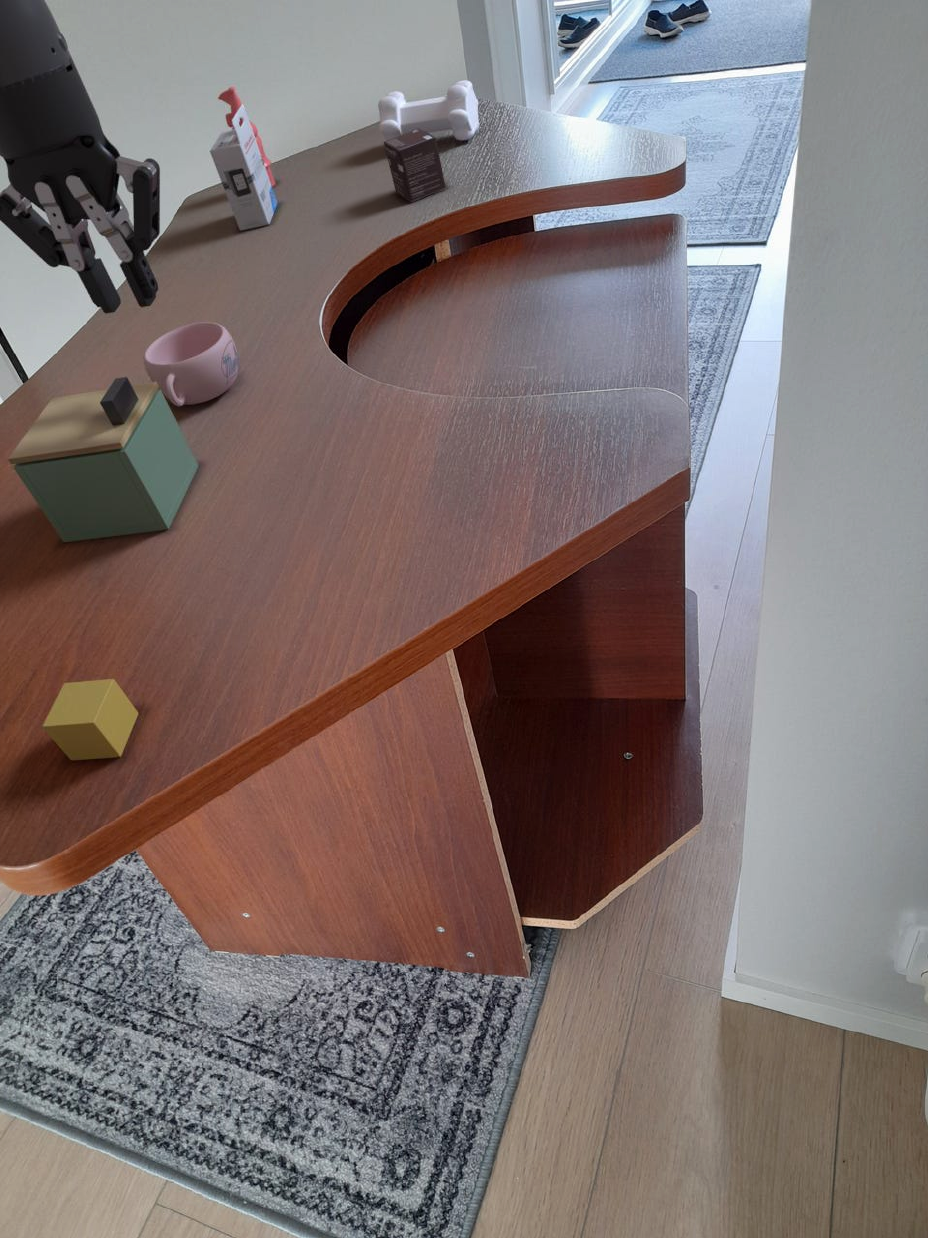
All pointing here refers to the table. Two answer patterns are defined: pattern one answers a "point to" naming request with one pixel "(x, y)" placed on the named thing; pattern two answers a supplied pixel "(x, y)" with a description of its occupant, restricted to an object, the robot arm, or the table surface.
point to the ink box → (244, 174)
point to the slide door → (86, 422)
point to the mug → (193, 363)
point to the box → (415, 165)
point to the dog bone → (431, 113)
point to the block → (91, 719)
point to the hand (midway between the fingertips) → (131, 304)
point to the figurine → (235, 103)
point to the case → (117, 481)
